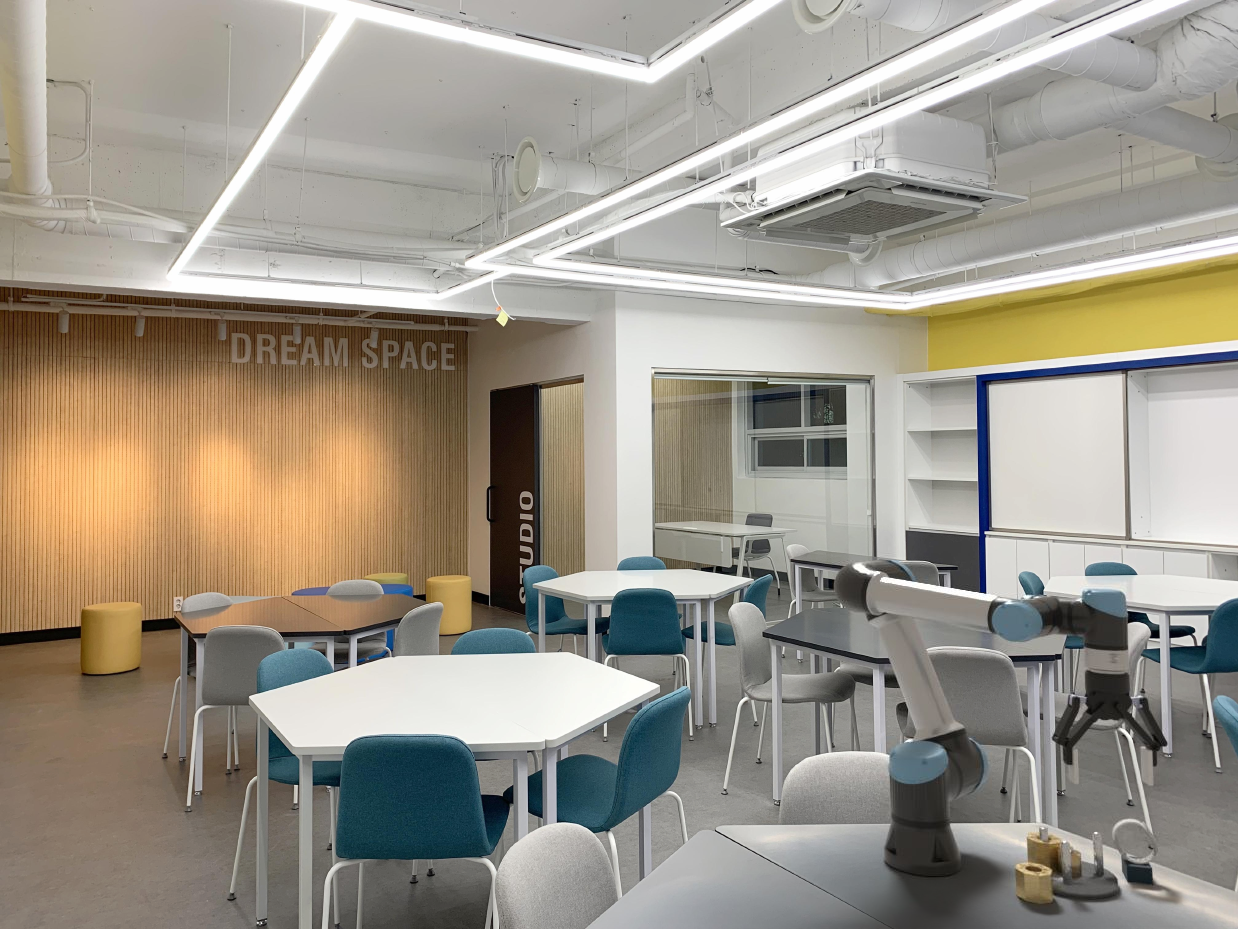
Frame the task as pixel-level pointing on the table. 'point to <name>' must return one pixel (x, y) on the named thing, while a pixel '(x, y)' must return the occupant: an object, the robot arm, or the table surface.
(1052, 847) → the planet gear
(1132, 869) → the watch
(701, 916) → the table surface
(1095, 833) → the carrier
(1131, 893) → the table surface
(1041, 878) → the planet gear
